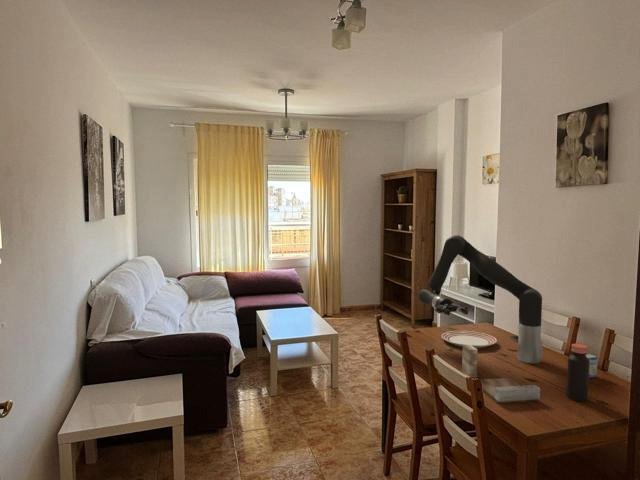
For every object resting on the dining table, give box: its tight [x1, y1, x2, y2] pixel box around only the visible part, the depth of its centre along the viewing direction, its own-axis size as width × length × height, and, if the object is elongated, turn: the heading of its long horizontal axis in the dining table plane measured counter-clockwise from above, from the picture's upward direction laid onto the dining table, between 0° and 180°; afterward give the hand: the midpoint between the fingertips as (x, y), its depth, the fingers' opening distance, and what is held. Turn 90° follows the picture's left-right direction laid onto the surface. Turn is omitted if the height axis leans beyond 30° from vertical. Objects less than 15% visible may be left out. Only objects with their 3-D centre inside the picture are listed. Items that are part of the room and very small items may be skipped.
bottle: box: [565, 343, 590, 403], centre depth 152 cm, size 7×7×20 cm
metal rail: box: [494, 384, 541, 402], centre depth 149 cm, size 16×3×4 cm, turn 98°
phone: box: [509, 335, 518, 343], centre depth 218 cm, size 8×1×15 cm
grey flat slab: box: [480, 377, 539, 405], centre depth 158 cm, size 16×18×1 cm
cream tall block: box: [461, 345, 479, 379], centre depth 174 cm, size 4×6×12 cm, turn 8°
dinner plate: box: [441, 330, 498, 349], centre depth 217 cm, size 27×27×3 cm
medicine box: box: [586, 353, 598, 379], centre depth 173 cm, size 8×4×9 cm, turn 106°
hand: (458, 312), depth 183 cm, fingers open, 8 cm apart
